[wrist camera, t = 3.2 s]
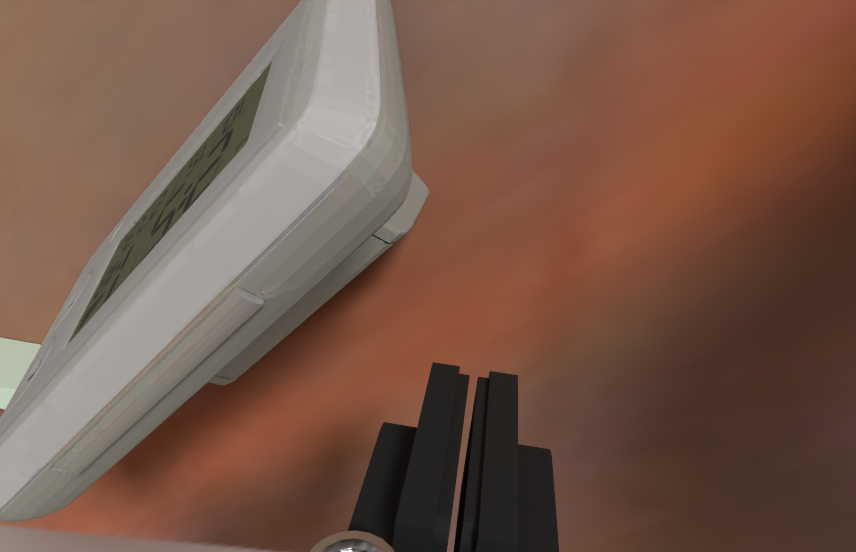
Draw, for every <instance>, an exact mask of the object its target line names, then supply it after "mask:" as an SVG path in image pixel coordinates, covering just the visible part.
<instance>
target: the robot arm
mask: <svg viewBox="0 0 856 552" xmlns="http://www.w3.org/2000/svg"><path fill="white" fill-rule="evenodd" d="M459 369H460V366H454V365H447V364H441V363H434V362H433V364H432V368H431V372H430V376H429V380H428V385H427V389H426V393H425V397H424V402H423V406H422V410H421V414H420V418H419V423H418V427H417V428H416V427H410V426H404V425H397V424H391V423H385V422H384V423H383V424H382V427H381V429H380V432H379V436H378V439H377V442H376V445H375V448H374V451H373V454H372V457H371V460H370V463H369V467H368V470H367V473H366V476H365V479H364V482H363V485H362V488H361V491H360V495H359V498H358V501H357V504H356V507H355V510H354V513H353V516H352V519H351V522H350V526H349V529H348V531H343V532H339V533H336V534H333V535H330V536H327V537H326V538H324V539H323V540H321V541H320V542H319V543H317V544H316V545H315V546H314V547H313V548H312V549H311V551H310V552H447V545H448V538H449V531H450V523H451V516H452V508H453V500H454V493H455V485H456V477H457V469H458V461H459V454H460V446H461V438H462V430H463V422H464V415H465V407H466V399H467V391H468V383H469V375H464V374H459ZM454 552H559V544H558V531H557V518H556V505H555V492H554V479H553V466H552V456H551V451H550V449H544V448H538V447H532V446H526V445H519V444H518V376H517V375H512V374H506V373H499V372H493V371H490V373H489V378H483V377H478V381H477V387H476V394H475V400H474V407H473V413H472V420H471V426H470V433H469V439H468V446H467V453H466V459H465V466H464V472H463V479H462V486H461V493H460V501H459V510H458V518H457V527H456V536H455V544H454Z"/></svg>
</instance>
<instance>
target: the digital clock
mask: <svg viewBox="0 0 856 552" xmlns="http://www.w3.org/2000/svg"><path fill="white" fill-rule="evenodd" d="M428 194H429V190H428V188H427V186H426V185H425V184H424V182H423V181H422V180H421V179H420V178H419V177H418V176H417V175H416V174H415V172H414V171H413V167H412V153H411V140H410V129H409V122H408V114H407V107H406V100H405V92H404V85H403V78H402V70H401V63H400V55H399V48H398V41H397V33H396V26H395V19H394V15H393V10H392V6H391V2H390V0H302V1H301V2H300V3H299V4H298V5H297V7H296V8H295V9H294V10H293V11H292V13H291V14H290V15H289V16H288V17H287V19H286V20H285V21H284V22H283V23H282V25H281V26H280V27H279V28H278V29H277V31H276V32H275V33H274V34H273V36H272V37H271V38H270V39H269V40H268V42H267V43H266V44H265V45H264V47H263V48H262V49H261V50H260V51H259V53H258V54H257V55H256V56H255V57H254V59H253V60H252V61H251V62H250V64H249V65H248V66H247V67H246V68H245V70H244V71H243V72H242V73H241V75H240V76H239V77H238V78H237V79H236V81H235V82H234V83H233V84H232V85H231V87H230V88H229V89H228V90H227V92H226V93H225V94H224V95H223V96H222V98H221V99H220V100H219V101H218V103H217V104H216V105H215V106H214V107H213V109H212V110H211V111H210V112H209V113H208V115H207V116H206V117H205V118H204V120H203V121H202V122H201V123H200V124H199V126H198V127H197V128H196V129H195V130H194V132H193V133H192V134H191V135H190V137H189V138H188V139H187V140H186V141H185V143H184V144H183V145H182V146H181V148H180V149H179V150H178V151H177V152H176V154H175V155H174V156H173V157H172V158H171V160H170V161H169V162H168V163H167V165H166V166H165V167H164V168H163V169H162V171H161V172H160V173H159V174H158V176H157V177H156V178H155V179H154V180H153V182H152V183H151V184H150V185H149V186H148V188H147V189H146V190H145V191H144V193H143V194H142V195H141V196H140V197H139V199H138V200H137V201H136V202H135V203H134V205H133V206H132V207H131V208H130V210H129V211H128V212H127V213H126V214H125V216H124V217H123V218H122V219H121V221H120V222H119V223H118V224H117V225H116V227H115V228H114V229H113V230H112V232H111V233H110V234H109V235H108V237H107V238H106V239H105V240H104V241H103V243H102V244H101V245H100V246H99V248H98V249H97V250H96V252H95V253H94V254H93V255H92V257H91V258H90V260H89V262H88V263H87V265H86V267H85V268H84V270H83V272H82V274H81V275H80V277H79V279H78V281H77V282H76V284H75V286H74V288H73V289H72V291H71V293H70V295H69V297H68V298H67V300H66V302H65V304H64V305H63V307H62V309H61V311H60V313H59V314H58V316H57V318H56V320H55V322H54V323H53V325H52V327H51V329H50V330H49V332H48V334H47V336H46V338H45V339H44V341H43V343H42V345H41V346H40V348H39V350H38V352H37V354H36V355H35V357H34V359H33V361H32V362H31V364H30V366H29V368H28V370H27V371H26V373H25V375H24V377H23V379H22V380H21V382H20V384H19V386H18V387H17V389H16V391H15V393H14V395H13V396H12V398H11V400H10V402H9V403H8V405H7V407H6V409H5V411H4V412H3V414H2V416H1V418H0V521H6V522H14V521H26V520H30V519H34V518H39V517H42V516H45V515H48V514H51V513H54V512H57V511H59V510H61V509H63V508H64V507H66V506H67V505H69V504H70V503H71V502H72V501H74V500H75V499H76V498H77V497H78V496H79V495H81V494H82V493H83V492H84V491H85V490H86V489H88V488H89V487H90V486H91V485H92V484H93V483H95V482H96V481H97V480H98V479H99V478H100V477H102V476H103V475H104V474H105V473H106V472H107V471H108V470H110V469H111V468H112V467H113V466H114V465H115V464H116V463H117V462H119V461H120V460H121V459H122V458H123V457H124V456H125V455H126V454H128V453H129V452H130V451H131V450H132V449H133V448H134V447H136V446H137V445H138V444H139V443H140V442H141V441H142V440H143V439H145V438H146V437H147V436H148V435H149V434H150V433H151V432H152V431H154V430H155V429H156V428H157V427H158V426H159V425H160V424H161V423H163V422H164V421H165V420H166V419H167V418H168V417H169V416H170V415H172V414H173V413H174V412H175V411H176V410H177V409H178V408H180V407H181V406H182V405H183V404H184V403H185V402H186V401H187V400H189V399H190V398H191V397H192V396H193V395H194V394H195V393H196V392H198V391H199V390H200V389H201V388H202V387H203V386H204V385H205V384H207V383H208V382H209V383H213V384H217V385H222V386H224V385H227V384H229V383H232V382H234V381H235V380H236V379H237V378H238V377H240V376H241V375H242V374H243V373H244V372H245V371H247V370H248V369H249V368H250V367H251V366H252V365H253V364H255V363H256V362H257V361H258V360H259V359H260V358H262V357H263V356H264V355H265V354H266V353H267V352H269V351H270V350H271V349H272V348H273V347H274V346H276V345H277V344H278V343H279V342H280V341H281V340H283V339H284V338H285V337H286V336H287V335H288V334H290V333H291V332H292V331H293V330H294V329H295V328H297V327H298V326H299V325H300V324H301V323H302V322H303V321H305V320H306V319H307V318H308V317H309V316H310V315H312V314H313V313H314V312H315V311H316V310H317V309H319V308H320V307H321V306H322V305H323V304H324V303H326V302H327V301H328V300H329V299H330V298H331V297H333V296H334V295H335V294H336V293H337V292H338V291H340V290H341V289H342V288H343V287H344V286H345V285H347V284H348V283H349V282H350V281H351V280H352V279H353V278H355V277H356V276H357V275H358V274H359V273H360V272H362V271H363V270H364V269H365V268H366V267H367V266H369V265H370V264H371V263H372V262H373V261H374V260H376V259H377V258H378V257H379V256H380V255H381V254H383V253H384V252H385V251H386V250H387V249H388V248H390V247H391V246H392V245H393V244H394V243H395V242H396V241H398V240H399V239H400V238H401V237H402V236H403V235H405V234H406V233H407V232H408V231H409V230H410V229H411V227H412V225H413V224H414V222H415V220H416V218H417V216H418V214H419V212H420V210H421V208H422V206H423V204H424V202H425V200H426V198H427V196H428Z"/></svg>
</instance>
